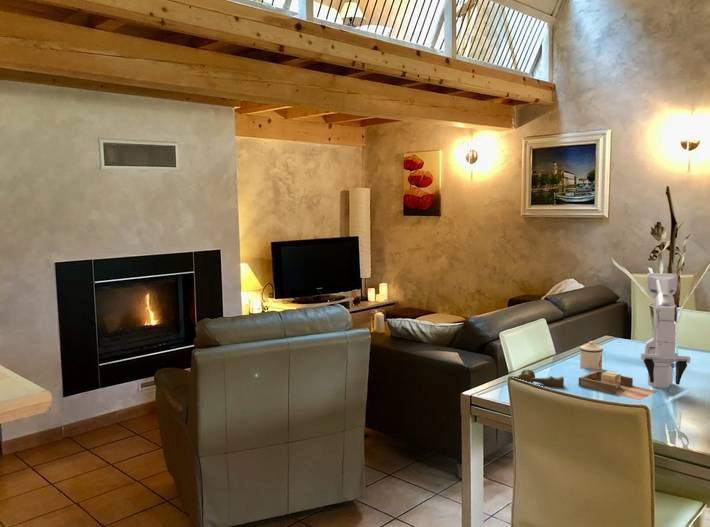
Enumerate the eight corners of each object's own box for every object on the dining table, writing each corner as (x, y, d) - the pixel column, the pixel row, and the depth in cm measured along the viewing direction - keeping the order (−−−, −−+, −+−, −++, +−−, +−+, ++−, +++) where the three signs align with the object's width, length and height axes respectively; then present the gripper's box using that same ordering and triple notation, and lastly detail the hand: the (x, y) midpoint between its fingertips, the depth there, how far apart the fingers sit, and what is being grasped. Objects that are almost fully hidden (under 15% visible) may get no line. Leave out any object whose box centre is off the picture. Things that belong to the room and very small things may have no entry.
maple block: (607, 383, 225) (607, 371, 224) (620, 386, 221) (620, 373, 220) (600, 386, 222) (601, 373, 221) (613, 389, 218) (614, 376, 217)
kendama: (562, 394, 218) (507, 387, 226) (564, 387, 227) (511, 381, 235) (563, 378, 218) (508, 372, 226) (564, 372, 227) (512, 366, 235)
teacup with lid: (604, 372, 244) (605, 344, 243) (581, 371, 246) (581, 343, 245) (599, 364, 255) (599, 338, 254) (577, 363, 258) (577, 337, 256)
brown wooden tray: (597, 380, 233) (597, 370, 232) (657, 393, 215) (657, 383, 215) (578, 387, 224) (578, 377, 223) (639, 402, 206) (639, 391, 206)
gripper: (643, 341, 193) (642, 383, 192) (693, 344, 189) (692, 386, 188) (639, 339, 199) (638, 379, 199) (687, 342, 195) (686, 383, 195)
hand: (664, 383), depth 194 cm, fingers open, 7 cm apart
